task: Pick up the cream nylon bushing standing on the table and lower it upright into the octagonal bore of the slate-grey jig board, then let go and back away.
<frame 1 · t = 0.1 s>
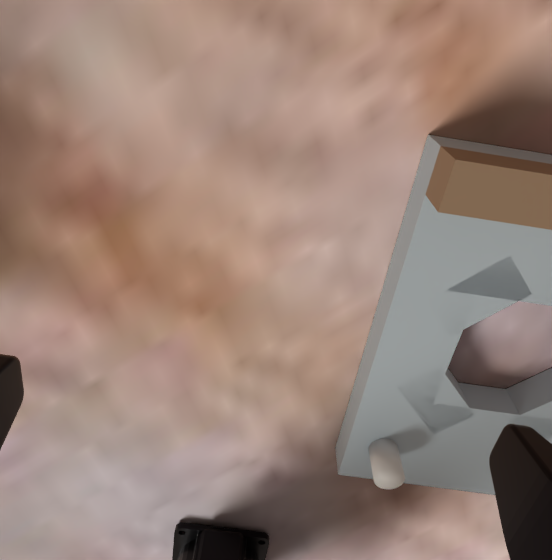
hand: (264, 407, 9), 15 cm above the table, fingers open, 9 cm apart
jig: (503, 338, 26), on the table
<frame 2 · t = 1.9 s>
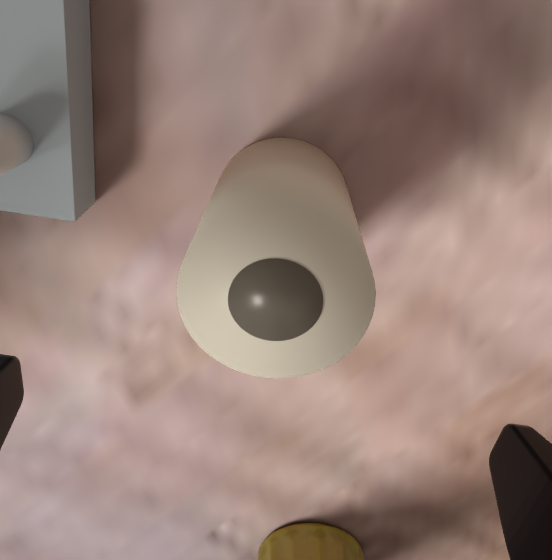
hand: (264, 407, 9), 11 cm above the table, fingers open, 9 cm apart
vase: (310, 550, 29), on the table
bushing: (281, 204, 18), on the table
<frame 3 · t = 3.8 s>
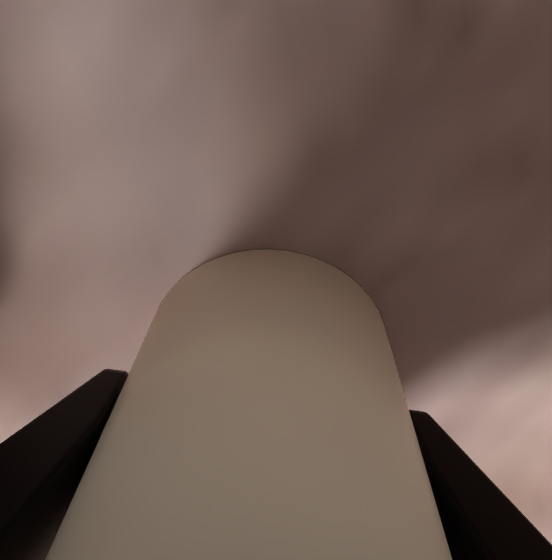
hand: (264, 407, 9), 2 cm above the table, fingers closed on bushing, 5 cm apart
bushing: (268, 356, 10), on the table, touching gripper
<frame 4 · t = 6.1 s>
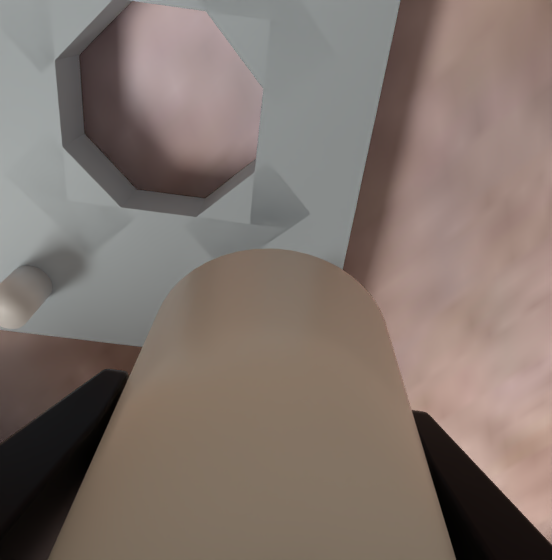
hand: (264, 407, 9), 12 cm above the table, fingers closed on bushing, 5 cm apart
bushing: (270, 355, 10), point 10 cm above the table, touching gripper
jig: (172, 108, 18), on the table
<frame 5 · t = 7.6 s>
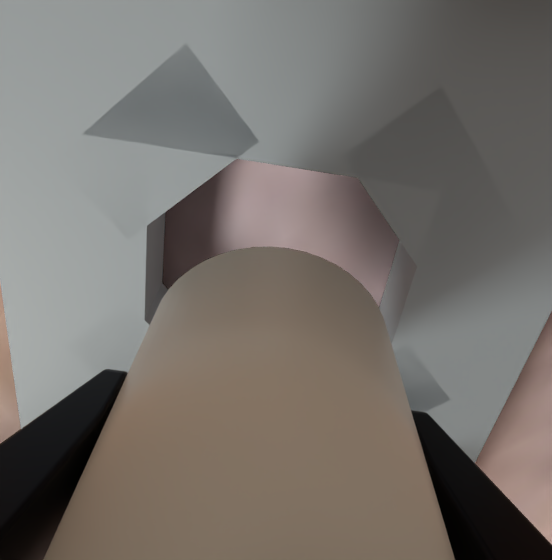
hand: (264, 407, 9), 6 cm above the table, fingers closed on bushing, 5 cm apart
bushing: (268, 354, 10), point 4 cm above the table, touching gripper
jig: (277, 259, 14), on the table
when the fingers open (2 cm above the table, at t = 8.7 s): bushing stays where it is, resting in jig.
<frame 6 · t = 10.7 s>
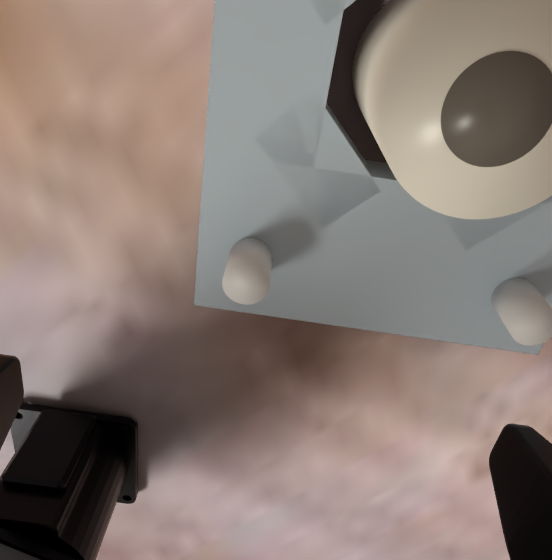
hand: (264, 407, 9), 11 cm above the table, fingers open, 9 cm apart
bushing: (426, 69, 17), resting in jig
jig: (426, 70, 17), on the table
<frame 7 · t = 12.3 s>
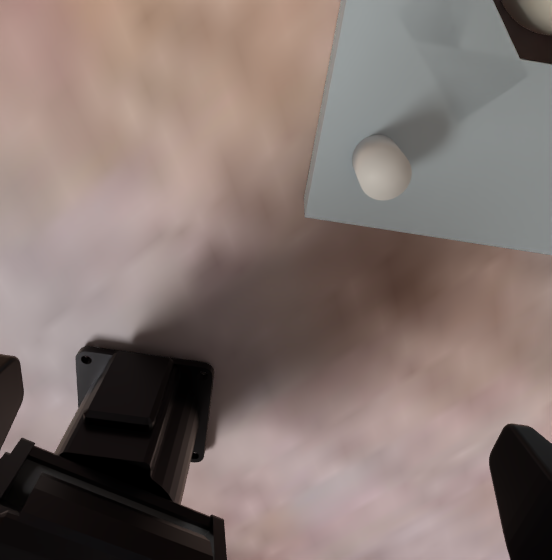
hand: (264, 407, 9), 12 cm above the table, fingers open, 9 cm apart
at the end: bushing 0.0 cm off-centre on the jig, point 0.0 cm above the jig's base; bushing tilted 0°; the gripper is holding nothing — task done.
